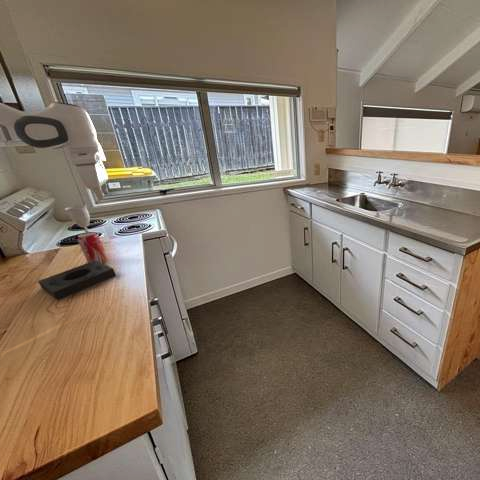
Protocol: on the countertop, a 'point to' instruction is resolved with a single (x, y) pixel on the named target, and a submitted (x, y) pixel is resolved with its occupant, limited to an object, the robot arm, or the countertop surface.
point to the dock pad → (76, 279)
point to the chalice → (80, 215)
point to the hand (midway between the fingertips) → (103, 196)
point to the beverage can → (92, 247)
